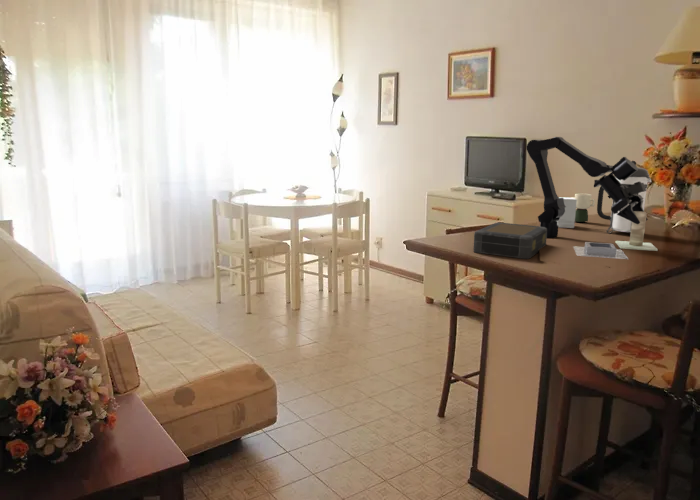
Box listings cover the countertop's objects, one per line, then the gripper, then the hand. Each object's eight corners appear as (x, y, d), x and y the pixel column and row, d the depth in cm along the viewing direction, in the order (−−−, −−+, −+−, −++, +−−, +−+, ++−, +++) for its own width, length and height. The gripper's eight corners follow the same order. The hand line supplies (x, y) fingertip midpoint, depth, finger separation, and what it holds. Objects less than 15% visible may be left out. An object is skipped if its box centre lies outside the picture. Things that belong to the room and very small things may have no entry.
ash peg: (636, 246, 208) (640, 213, 205) (626, 243, 212) (630, 211, 209) (645, 245, 209) (649, 212, 207) (635, 243, 213) (640, 211, 211)
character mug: (595, 222, 267) (598, 194, 264) (589, 224, 262) (592, 195, 259) (572, 219, 274) (574, 192, 272) (565, 221, 269) (568, 193, 267)
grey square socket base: (576, 258, 195) (577, 248, 194) (572, 248, 210) (573, 239, 209) (628, 262, 190) (629, 251, 189) (620, 252, 205) (622, 242, 204)
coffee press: (635, 230, 249) (644, 159, 242) (650, 237, 233) (660, 162, 227) (594, 229, 251) (601, 159, 244) (606, 236, 235) (614, 161, 229)
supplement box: (574, 228, 252) (577, 199, 249) (556, 227, 254) (559, 198, 251) (571, 225, 259) (574, 197, 257) (554, 224, 261) (556, 196, 258)
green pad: (620, 251, 207) (620, 246, 207) (615, 244, 218) (615, 240, 218) (657, 253, 204) (657, 249, 203) (650, 246, 215) (650, 242, 215)
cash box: (492, 241, 223) (494, 221, 221) (546, 247, 213) (548, 227, 211) (469, 252, 202) (471, 231, 201) (528, 260, 192) (530, 237, 190)
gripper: (624, 175, 201) (654, 210, 196) (640, 172, 215) (669, 205, 210) (598, 196, 208) (627, 230, 203) (615, 192, 221) (643, 224, 217)
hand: (642, 222), depth 208 cm, fingers open, 9 cm apart
